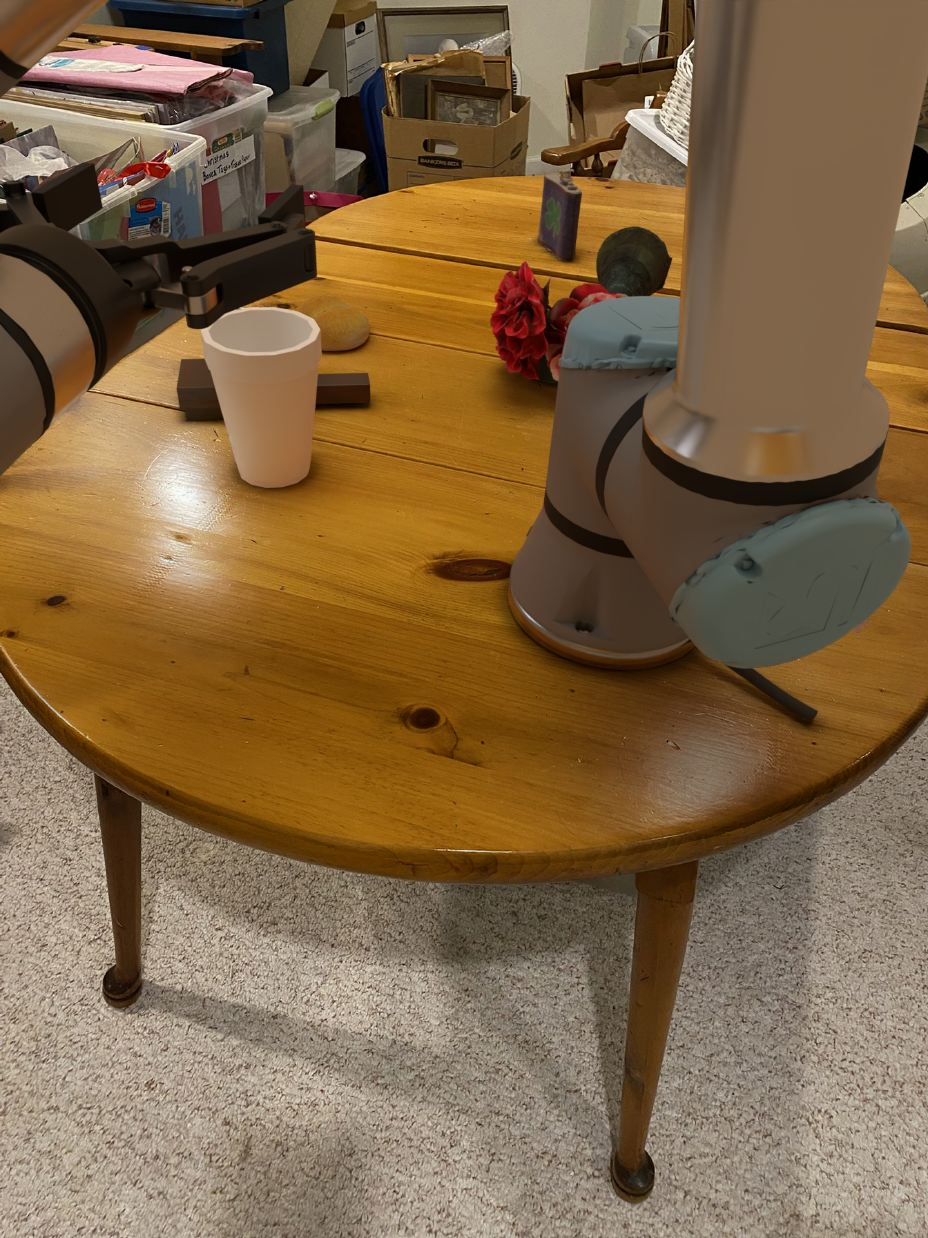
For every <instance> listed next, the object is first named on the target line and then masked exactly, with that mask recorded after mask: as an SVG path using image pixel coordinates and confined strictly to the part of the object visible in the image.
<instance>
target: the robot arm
mask: <svg viewBox="0 0 928 1238" xmlns="http://www.w3.org/2000/svg"><path fill="white" fill-rule="evenodd" d="M109 1H110V0H0V99H2V98H3V96H5V95H6V94H7V93H8V92H9V91H10V90H12V89H13V88H14V87H15V86H16V85H17V84H18V83H20V81H21V80H23V77H24V76H25V75H26V74H27V73H28V72H29V71H30V70H32V69H33V68H34V67H35V66H36V65H37V64H38V63H40V61H42V60H43V59H44V58H46V56H47V55H48V54H50V53H51V52H52V51H53V50H54V49H55V48H56V47H58V46H59V45H60V44H62V42H63V41H65V40H66V39H67V38H68V37H69V36H71V34H73V32H75V31H76V30H77V29H78V28H79V27H81V26H82V25H83V24H84V23H85V22H86V21H88V19H90V18H91V17H92V16H93V15H94V14H95V13H97V12H98V11H99V10H100V9H101V8H102V7H104V6H105V5H106V4H107V3H108V2H109ZM693 33H694V34H693V35H694V36H693V53H692V54H693V55H692V73H691V87H690V88H691V89H690V90H691V91H690V107H689V108H690V109H689V110H690V111H689V123H688V124H689V125H688V126H689V127H688V148H687V163H686V178H685V179H686V182H685V196H684V197H685V200H684V218H683V236H682V251H681V252H682V254H681V269H680V270H681V271H680V272H681V273H680V290H679V297H673V296H661V295H660V296H657V295H651V296H636V297H622V298H615V299H609V300H605V301H601V302H598V303H595V304H592V305H591V306H589V307H586V308H584V309H582V310H581V311H580V312H579V313H577V314H576V315H575V316H574V318H573V319H572V320H571V322H570V324H569V327H568V330H567V334H566V339H565V343H564V348H563V352H562V356H561V358H560V359H559V363H558V366H560V372H559V380H558V382H557V388H556V399H555V406H554V414H553V423H552V430H551V437H550V447H549V454H548V455H549V456H548V464H547V473H546V478H545V479H546V480H545V488H544V495H543V496H544V497H543V503H542V507H541V509H540V511H539V513H538V515H537V517H536V518H535V520H534V522H533V524H532V525H531V526H530V527H529V529H528V532H527V533H526V535H525V540H524V542H523V544H522V547H521V548H520V549H519V550H518V551H517V554H516V555H515V557H514V560H513V562H512V564H511V567H510V570H509V580H508V588H507V599H508V605H509V608H510V609H509V610H510V612H511V614H512V616H513V617H514V619H515V621H516V622H517V624H518V625H519V626H520V628H521V629H522V630H523V632H525V634H527V635H528V636H529V638H531V639H532V640H534V641H535V642H536V643H537V644H538V645H540V646H542V647H543V648H544V649H547V650H548V651H550V652H552V653H554V654H556V655H558V656H560V657H561V658H564V659H567V660H570V661H572V662H575V663H578V664H581V665H585V666H589V667H594V668H601V669H605V670H616V671H617V670H618V671H619V670H621V671H626V670H627V671H631V670H643V669H651V668H655V667H660V666H662V665H666V664H667V663H672V662H674V661H676V660H677V659H680V658H681V657H683V656H684V655H686V654H688V653H689V652H690V651H691V650H692V649H694V648H696V649H698V651H699V652H700V653H701V654H703V655H704V656H705V657H707V658H708V659H709V660H714V661H715V662H718V663H719V662H720V663H721V664H723V666H725V667H727V668H728V669H729V670H731V671H732V672H734V673H735V674H737V675H738V676H740V678H742V679H744V680H745V681H747V682H748V683H749V684H751V685H752V686H753V687H754V688H756V689H757V690H758V691H760V692H761V693H763V694H764V695H765V696H767V697H768V698H770V699H771V700H773V701H774V702H776V703H777V704H779V705H780V706H782V707H783V708H785V709H786V710H788V711H790V712H791V713H793V714H795V715H797V716H798V717H799V718H802V720H805V721H807V722H809V723H812V722H813V721H814V720H815V719H816V717H817V715H818V713H819V711H818V710H817V709H815V708H813V707H812V706H811V705H808V704H807V703H805V702H803V701H801V700H799V699H798V698H796V697H795V696H793V695H791V694H790V693H788V692H787V691H785V690H784V689H782V688H781V687H780V686H778V685H776V684H775V683H774V682H772V681H771V680H770V679H768V678H767V677H765V676H764V674H762V673H760V672H758V670H756V669H763V668H764V669H765V668H770V667H775V666H779V665H783V664H784V665H785V664H788V663H791V662H794V661H797V660H800V659H802V658H805V657H808V656H811V655H813V654H815V653H817V652H819V651H821V650H823V649H824V648H827V647H830V646H832V645H833V644H834V643H836V642H838V641H839V640H841V639H842V638H844V637H845V636H846V635H848V634H849V633H850V632H851V631H853V630H854V629H856V628H858V627H859V626H861V625H862V624H863V623H865V622H866V621H867V620H868V619H869V618H871V616H873V615H874V614H875V613H876V612H877V611H878V610H879V609H880V608H881V607H882V606H883V604H885V602H886V601H887V600H888V599H889V598H890V596H892V594H893V592H895V590H896V588H897V587H898V586H899V584H900V582H901V580H902V578H903V576H904V575H905V573H906V570H907V568H908V565H909V562H910V559H911V554H912V539H911V535H910V532H909V529H908V527H907V526H906V524H905V523H904V522H903V521H902V516H901V513H900V512H899V510H898V508H895V506H894V505H893V504H892V503H891V502H890V501H884V500H882V499H881V498H880V496H879V494H878V491H877V480H878V476H879V472H880V469H881V464H882V459H883V454H884V450H885V446H886V442H887V438H888V434H889V431H890V430H889V429H890V418H891V417H890V416H891V413H890V409H889V404H888V402H887V399H886V398H885V396H884V395H883V393H881V391H880V390H879V388H877V386H875V385H874V384H873V382H872V381H871V380H869V378H867V377H866V372H867V367H868V363H869V358H870V353H871V349H872V344H873V339H874V334H875V330H876V326H877V325H876V324H877V320H878V315H879V311H880V305H881V300H882V297H883V291H884V288H885V282H886V277H887V272H888V267H889V263H890V258H891V253H892V248H893V244H894V240H895V234H896V229H897V225H898V219H899V215H900V210H901V205H902V200H903V196H904V191H905V187H906V181H907V177H908V173H909V169H910V164H911V158H912V153H913V149H914V143H915V139H916V134H917V130H918V125H919V119H920V115H921V111H922V106H923V102H924V95H925V92H926V86H927V82H928V0H695V17H694V32H693ZM97 175H98V174H97V171H96V165H95V163H94V162H84V161H83V162H81V163H80V164H78V165H76V166H74V167H72V168H70V169H68V170H67V171H65V172H63V173H61V174H60V175H57V176H55V178H53V179H51V180H49V181H47V182H46V183H44V184H42V185H40V186H39V187H37V188H35V189H33V190H32V191H30V193H28V194H27V189H26V185H25V182H24V181H23V180H15V179H14V180H13V179H11V180H6V181H3V182H1V188H2V191H3V196H4V200H5V202H4V203H1V202H0V477H1V476H2V475H4V474H5V473H6V472H7V470H9V469H10V468H11V467H12V465H13V464H14V463H16V462H17V461H18V460H19V458H21V456H22V455H23V454H24V453H26V452H27V451H28V449H30V448H31V447H33V445H34V444H35V443H36V442H37V441H38V440H39V439H41V438H42V437H43V436H44V435H45V433H46V432H47V431H48V430H49V429H50V428H51V427H52V426H53V425H54V424H55V423H56V422H57V421H58V420H60V418H61V417H62V416H63V415H65V413H66V412H68V411H69V409H71V408H72V406H74V405H75V404H76V403H77V402H78V401H79V400H80V399H81V398H82V397H83V396H84V395H85V394H86V393H88V392H89V391H90V390H92V389H93V388H94V387H95V386H96V385H97V384H98V383H99V382H100V381H101V380H102V379H103V378H105V376H106V375H107V374H108V373H109V372H110V371H111V370H112V369H113V368H114V367H115V366H117V364H118V363H119V362H120V361H122V359H123V357H124V356H125V355H126V353H127V351H128V350H129V347H130V345H131V342H132V340H133V338H134V335H135V332H136V329H137V327H138V325H139V323H140V322H142V321H144V320H147V319H149V318H152V317H155V316H157V315H158V314H160V313H161V312H162V311H163V310H171V311H176V312H182V313H184V314H185V315H184V316H185V321H186V327H187V328H189V329H192V330H202V329H205V328H208V327H209V326H211V325H212V324H213V323H214V322H216V321H217V320H218V319H219V318H221V317H222V316H223V315H224V314H226V313H229V312H231V311H234V310H238V309H242V308H244V307H247V306H249V305H251V304H255V302H259V301H262V300H264V299H266V298H269V297H271V296H274V295H277V294H279V293H281V292H284V291H286V290H289V289H291V288H294V287H296V286H298V285H301V284H304V283H307V282H309V281H311V280H314V279H316V278H317V277H318V265H317V262H318V261H317V244H316V231H315V230H314V229H310V228H307V227H306V226H307V224H306V207H305V191H304V185H303V184H294V183H291V184H289V186H288V187H287V188H286V189H284V191H283V192H282V193H281V194H280V195H279V196H278V197H276V198H275V199H274V200H273V201H272V202H271V203H270V204H269V205H267V207H265V209H264V210H263V211H261V213H260V214H259V215H257V223H258V224H256V225H250V226H246V227H241V228H236V229H231V230H226V231H220V232H215V233H210V234H205V235H200V236H195V237H190V238H185V239H181V240H172V239H171V238H169V237H168V236H166V235H164V234H155V235H150V236H144V237H140V238H134V239H129V240H124V241H123V240H122V241H121V240H119V239H117V238H107V239H100V240H89V239H82V238H81V237H79V236H77V235H75V234H74V233H72V232H70V231H71V230H73V229H74V228H76V227H77V226H79V225H81V223H83V222H85V221H86V220H88V219H89V218H91V217H92V216H93V215H95V214H97V213H98V212H100V211H101V210H102V209H104V207H103V202H102V196H101V191H100V186H99V185H100V184H99V181H98V176H97ZM154 255H156V256H157V261H158V268H159V273H158V271H157V269H156V268H155V266H154V265H153V263H152V261H151V260H150V259H149V258H148V256H154Z"/></svg>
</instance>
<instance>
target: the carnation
mask: <svg viewBox="0 0 928 1238" xmlns="http://www.w3.org/2000/svg"><path fill="white" fill-rule="evenodd" d="M595 260H596V262H595V271H596V277H597V281H598V283H597V282H592V283H591V282H587V283H586V282H584V283H583V284H581V285H577V286H576V287H574V288H573V289H572V290H571V291H570V294H569V296H568V297H562V298H560V299H558V300H557V301H556V302H554V304H553V305H552V306H551V305H550V299H549V296H550V283H551V279H552V277H553V276H552V275H551V277H549V279H548V280H547V282H546V284H545V285H544V286H543V287H541V285H540V283H539V282H538V281H537V279H536V277H535V275H534V273H533V268H531V267H530V265H529V264H528V262H527V260H524V261H523V262H521V264H520V268H519V269H518V270H517V271H516V272H515V273H514V272H513V270H509V271H507V272H505V274H504V276H503V278H502V280H501V281H500V284H499V286H498V289H497V292H496V293H495V295H494V297H493V299H494V302H495V303H496V307H495V309H494V311H493V312H492V313H490V316H491V317H490V319H489V323H490V324H489V325H490V327H492V329H491V332H492V334H493V336H494V338H495V340H496V345H495V351H496V352H497V353H498V354H497V355H499V360H501V361H504V362H505V366H506V370H507V373H508V374H512V373H518V374H520V376H523V377H524V378H525V379H526V380H529V381H530V380H537V381H539V382H542V383H548V384H551V383H558V380H559V372H560V366H558V363H559V359H560V358H561V356H562V352H563V348H564V343H565V339H566V334H567V330H568V327H569V324H570V322H571V320H572V319H573V318H574V316H575V315H576V314H577V313H579V312H580V311H581V310H582V309H584V308H586V307H589V306H591V305H592V304H595V303H598V302H601V301H605V300H609V299H615V298H622V297H636V296H653V295H654V294H655V293H657V291H660V290H662V289H663V288H664V287H665V285H666V280H667V279H668V275H669V271H670V268H671V266H672V262H673V257H671V255H670V254H669V251H668V248H667V245H666V243H665V242H664V241H663V240H662V239H661V238H660V237H659V235H658V234H657V233H655V232H653V231H651V230H650V229H647V228H645V227H642V226H637V225H636V226H635V225H634V226H629V227H624V228H621V229H619V230H616V231H614V232H611V234H609V235H608V236H607V237H606V238H605V239H604V240H603V241H602V243H601V245H600V247H599V249H598V251H597V255H596V259H595Z"/></svg>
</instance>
